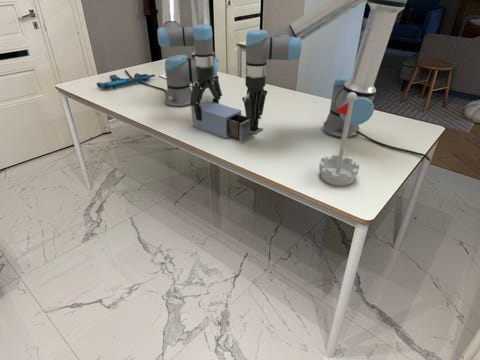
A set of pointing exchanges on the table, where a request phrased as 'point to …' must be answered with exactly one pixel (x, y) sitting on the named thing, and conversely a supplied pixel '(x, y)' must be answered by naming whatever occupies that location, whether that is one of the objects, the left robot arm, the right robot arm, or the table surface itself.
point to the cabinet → (214, 117)
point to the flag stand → (341, 154)
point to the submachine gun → (124, 81)
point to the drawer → (240, 127)
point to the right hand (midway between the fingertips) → (253, 133)
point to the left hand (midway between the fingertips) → (207, 116)
